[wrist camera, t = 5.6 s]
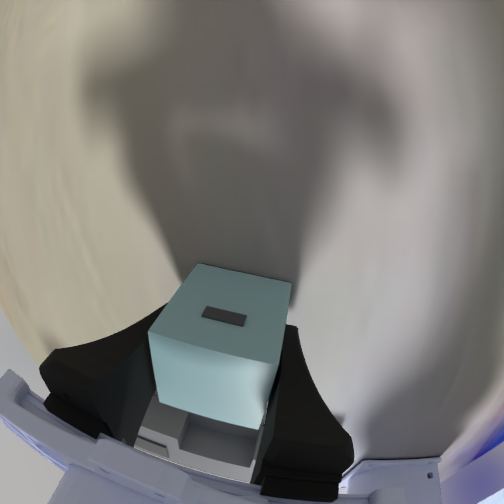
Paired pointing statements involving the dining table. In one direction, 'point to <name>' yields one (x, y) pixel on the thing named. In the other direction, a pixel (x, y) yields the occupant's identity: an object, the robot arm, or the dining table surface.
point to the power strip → (199, 441)
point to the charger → (220, 344)
